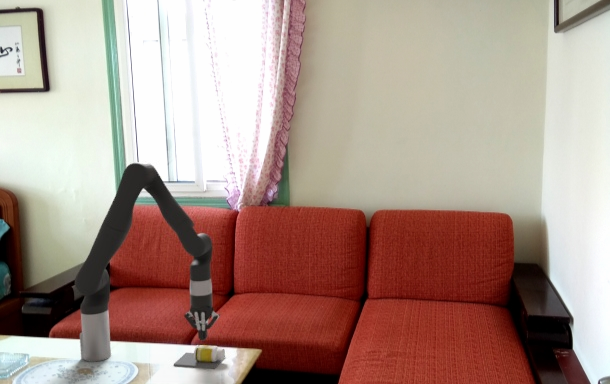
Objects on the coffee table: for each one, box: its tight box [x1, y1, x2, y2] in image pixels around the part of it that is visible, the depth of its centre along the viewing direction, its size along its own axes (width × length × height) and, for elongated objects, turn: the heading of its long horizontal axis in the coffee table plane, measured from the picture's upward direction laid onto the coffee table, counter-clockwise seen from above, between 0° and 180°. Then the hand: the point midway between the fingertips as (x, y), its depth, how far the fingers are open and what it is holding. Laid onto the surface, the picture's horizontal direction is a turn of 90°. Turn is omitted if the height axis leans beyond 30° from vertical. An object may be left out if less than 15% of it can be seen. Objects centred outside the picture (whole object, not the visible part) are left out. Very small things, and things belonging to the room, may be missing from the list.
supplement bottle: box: [193, 344, 226, 362], centre depth 188 cm, size 5×5×10 cm
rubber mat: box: [173, 352, 226, 370], centre depth 190 cm, size 15×10×1 cm, turn 77°
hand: (202, 339), depth 189 cm, fingers closed
